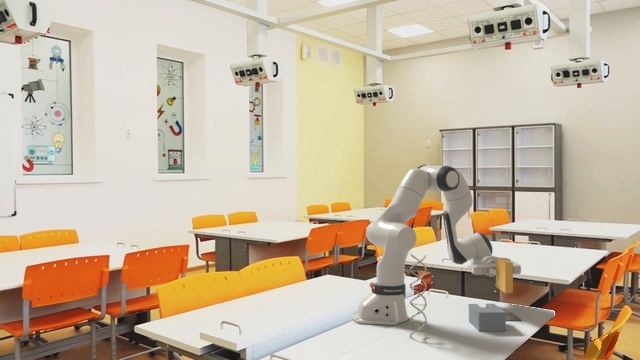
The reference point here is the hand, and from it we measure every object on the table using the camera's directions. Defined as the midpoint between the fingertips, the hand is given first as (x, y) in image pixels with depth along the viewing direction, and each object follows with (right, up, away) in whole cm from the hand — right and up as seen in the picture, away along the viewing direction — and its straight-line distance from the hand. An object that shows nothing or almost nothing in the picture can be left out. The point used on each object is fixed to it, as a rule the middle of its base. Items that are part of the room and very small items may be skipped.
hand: (502, 272), depth 211 cm
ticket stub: (0, -7, -2) cm, 7 cm away
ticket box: (-11, -18, -13) cm, 25 cm away
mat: (0, -18, -2) cm, 18 cm away
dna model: (-39, -19, -26) cm, 50 cm away
